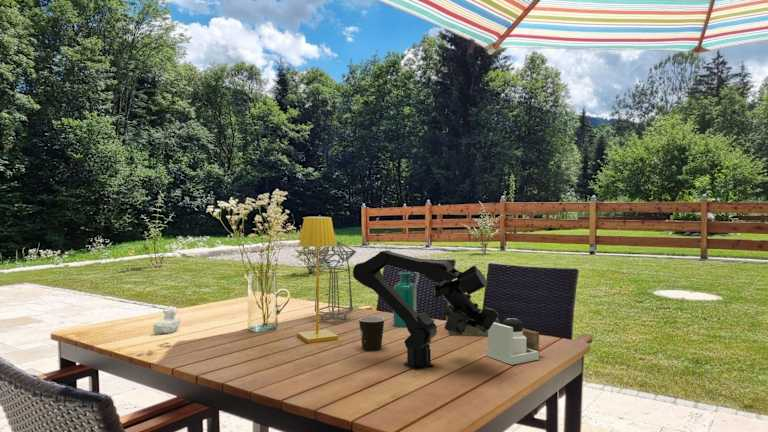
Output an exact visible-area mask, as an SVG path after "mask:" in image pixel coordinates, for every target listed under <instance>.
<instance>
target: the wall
mask: <svg viewBox="0 0 768 432" xmlns="http://www.w3.org/2000/svg"><path fill="white" fill-rule="evenodd" d="M522 334H523V335H524V336H525V337H526V338H527V348H529V349H532V350H535V351H538V352H539V353H540V332H538V331H534V330H531V329H528V328H527V329H526V328H524V327H523V333H522Z"/></svg>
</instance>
